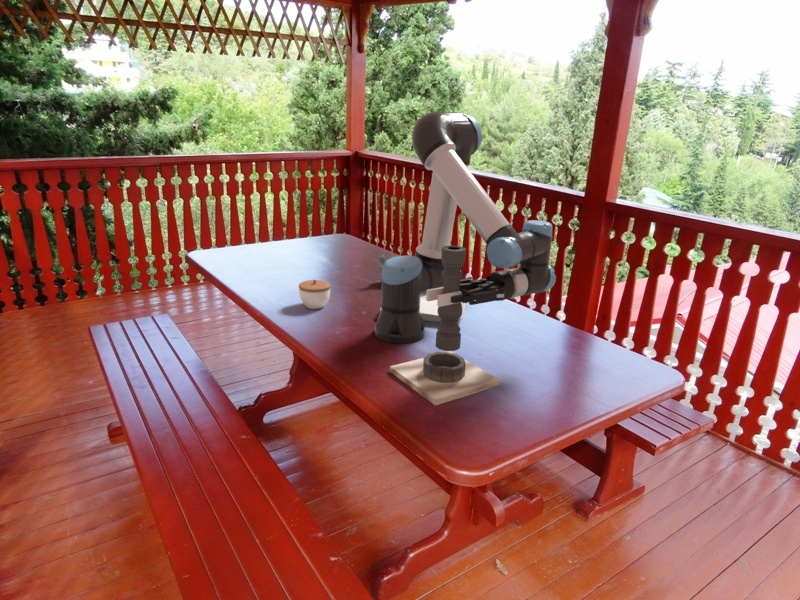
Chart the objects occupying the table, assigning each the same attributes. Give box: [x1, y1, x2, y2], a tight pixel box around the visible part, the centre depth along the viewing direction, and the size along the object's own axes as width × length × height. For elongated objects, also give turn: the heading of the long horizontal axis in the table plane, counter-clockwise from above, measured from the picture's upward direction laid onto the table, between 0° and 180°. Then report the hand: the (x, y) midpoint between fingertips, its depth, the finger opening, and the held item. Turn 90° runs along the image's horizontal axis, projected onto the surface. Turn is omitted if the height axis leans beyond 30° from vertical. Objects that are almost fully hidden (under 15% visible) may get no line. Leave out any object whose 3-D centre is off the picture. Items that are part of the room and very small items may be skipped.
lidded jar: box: [298, 279, 332, 310], centre depth 186 cm, size 11×11×9 cm
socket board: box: [389, 351, 500, 407], centre depth 139 cm, size 20×20×5 cm
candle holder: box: [435, 245, 467, 352], centre depth 132 cm, size 6×6×25 cm
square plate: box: [379, 295, 467, 323], centre depth 187 cm, size 27×27×4 cm
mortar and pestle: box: [378, 254, 388, 275], centre depth 213 cm, size 11×9×12 cm
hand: (433, 298), depth 129 cm, fingers closed on candle holder, 4 cm apart
